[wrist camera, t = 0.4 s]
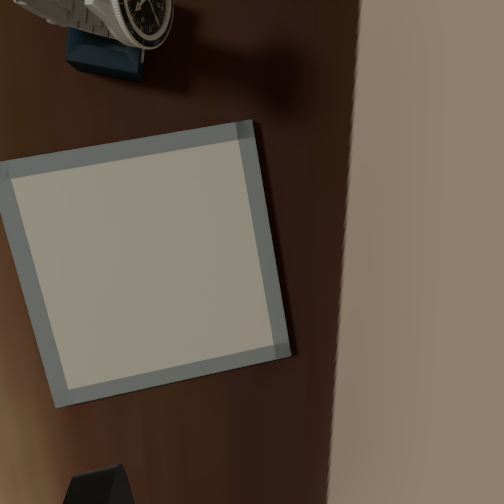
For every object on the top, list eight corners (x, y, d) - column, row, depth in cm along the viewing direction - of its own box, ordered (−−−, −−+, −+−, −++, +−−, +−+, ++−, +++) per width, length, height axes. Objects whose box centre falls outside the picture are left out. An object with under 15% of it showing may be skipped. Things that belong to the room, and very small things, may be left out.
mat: (-10, 164, 32) (-13, 164, 31) (250, 120, 33) (252, 119, 33) (57, 404, 35) (55, 408, 34) (289, 352, 37) (291, 355, 36)
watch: (171, 87, 32) (162, 46, 22) (49, 65, 31) (-25, 9, 20) (181, 1, 31) (178, -86, 21) (56, -25, 30) (-16, -133, 19)
